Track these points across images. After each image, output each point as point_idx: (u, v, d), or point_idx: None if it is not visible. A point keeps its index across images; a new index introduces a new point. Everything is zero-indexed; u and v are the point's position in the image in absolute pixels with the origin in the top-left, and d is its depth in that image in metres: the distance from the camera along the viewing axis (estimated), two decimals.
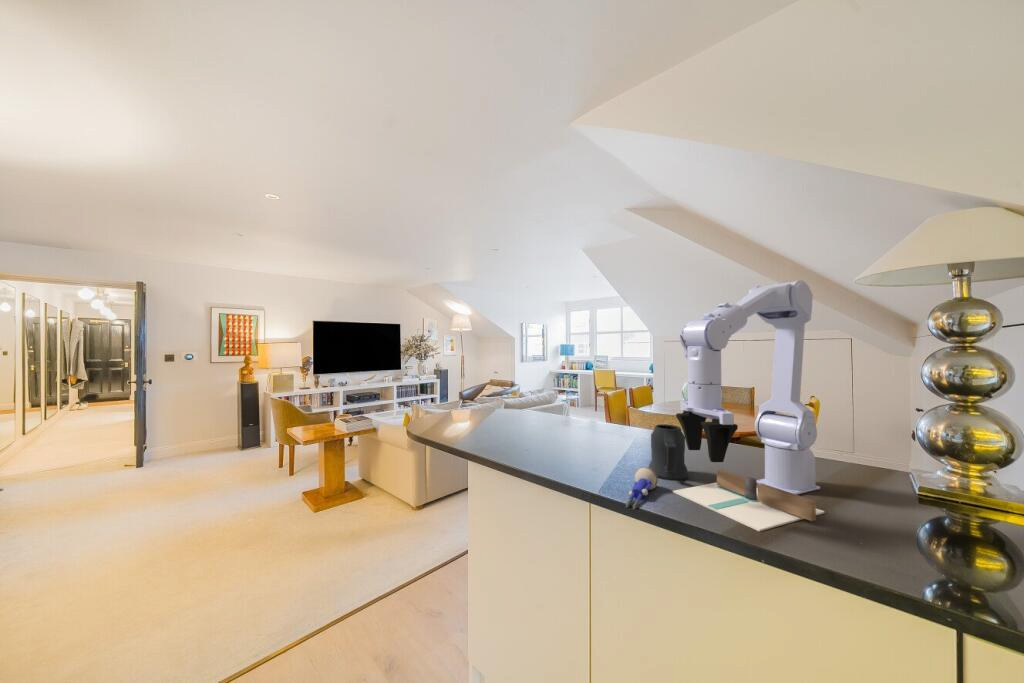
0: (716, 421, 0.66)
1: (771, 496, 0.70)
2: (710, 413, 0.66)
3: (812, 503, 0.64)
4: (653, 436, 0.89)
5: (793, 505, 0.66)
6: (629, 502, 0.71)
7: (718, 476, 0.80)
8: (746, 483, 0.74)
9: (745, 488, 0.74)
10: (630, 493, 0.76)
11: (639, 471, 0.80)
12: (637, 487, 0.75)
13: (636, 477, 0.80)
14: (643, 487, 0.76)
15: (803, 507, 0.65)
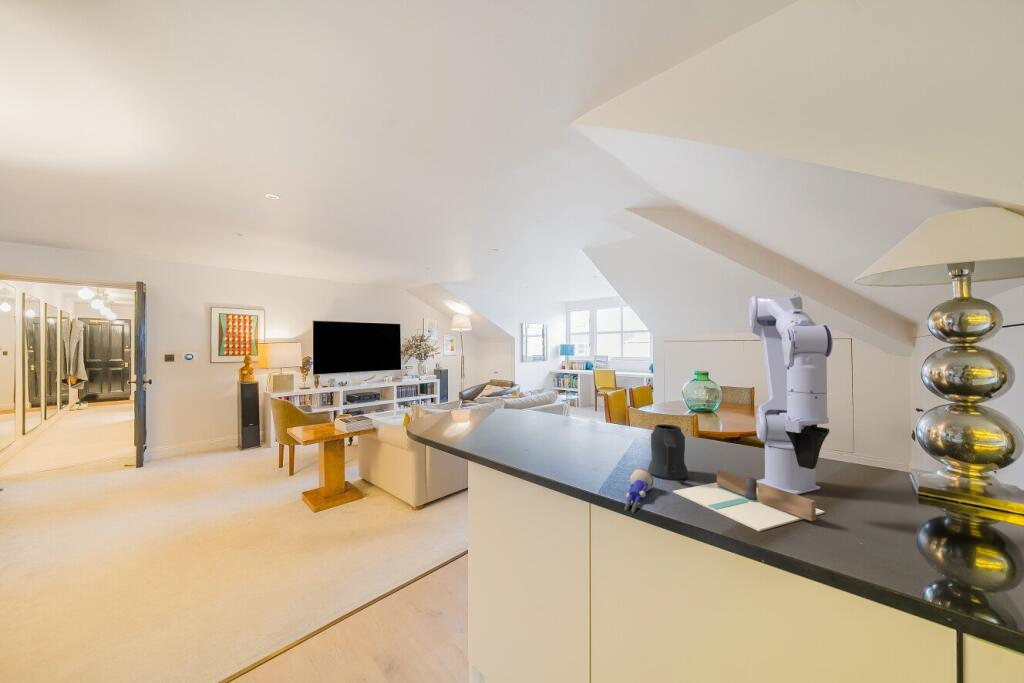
0: None
1: (771, 496, 0.70)
2: None
3: (812, 503, 0.64)
4: (653, 436, 0.89)
5: (793, 505, 0.66)
6: (628, 505, 0.70)
7: (718, 476, 0.80)
8: (746, 483, 0.74)
9: (745, 488, 0.74)
10: (627, 495, 0.74)
11: (635, 473, 0.79)
12: (634, 489, 0.74)
13: (632, 479, 0.79)
14: (640, 489, 0.75)
15: (803, 507, 0.65)
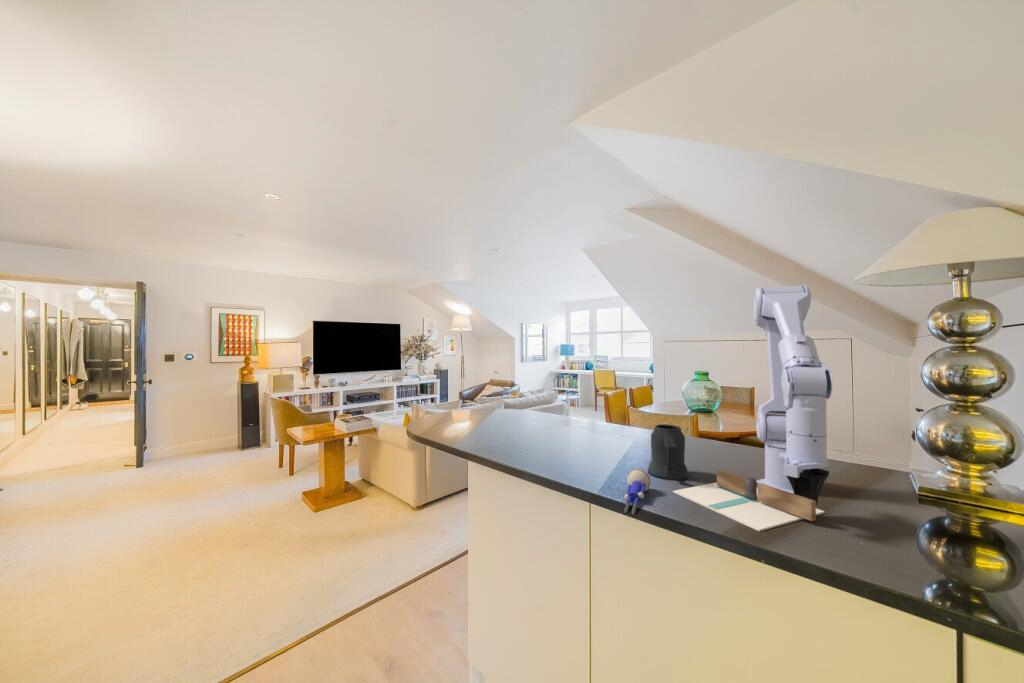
0: None
1: (771, 496, 0.70)
2: (785, 462, 0.66)
3: (812, 503, 0.64)
4: (653, 436, 0.89)
5: (793, 505, 0.66)
6: (627, 507, 0.69)
7: (718, 476, 0.80)
8: (746, 483, 0.74)
9: (745, 488, 0.74)
10: (626, 497, 0.74)
11: (632, 473, 0.78)
12: (633, 490, 0.73)
13: (629, 480, 0.78)
14: (638, 490, 0.74)
15: (803, 507, 0.65)
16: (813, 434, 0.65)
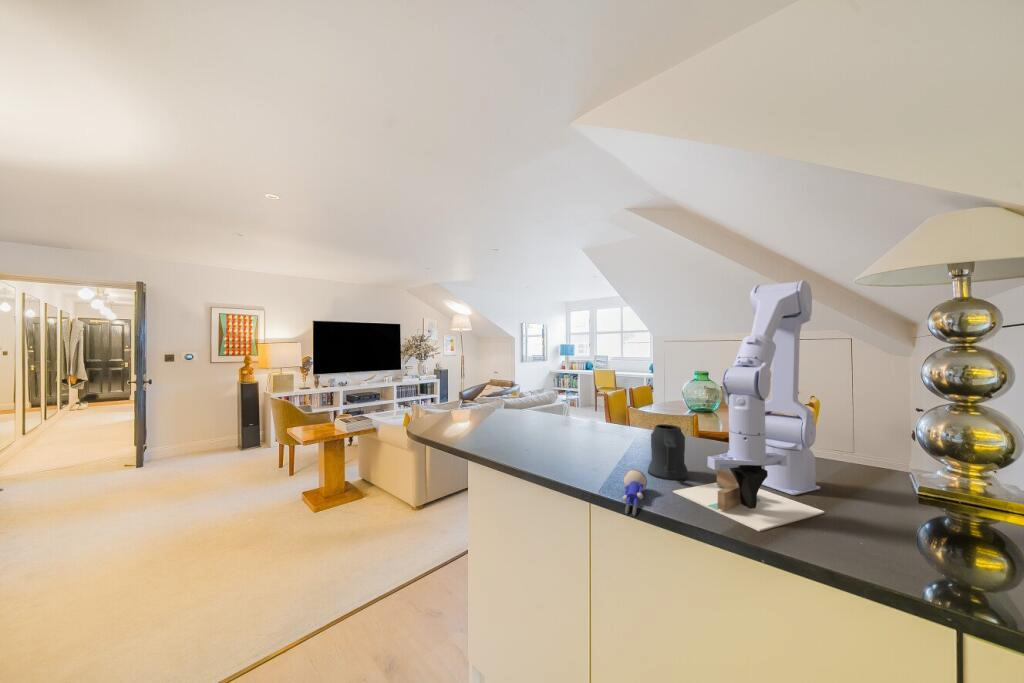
0: None
1: None
2: (718, 457, 0.70)
3: (719, 493, 0.68)
4: (653, 436, 0.89)
5: None
6: (628, 508, 0.69)
7: (718, 476, 0.80)
8: None
9: None
10: (624, 498, 0.73)
11: (629, 474, 0.78)
12: (632, 491, 0.73)
13: (626, 480, 0.78)
14: (637, 491, 0.74)
15: None
16: (742, 432, 0.67)
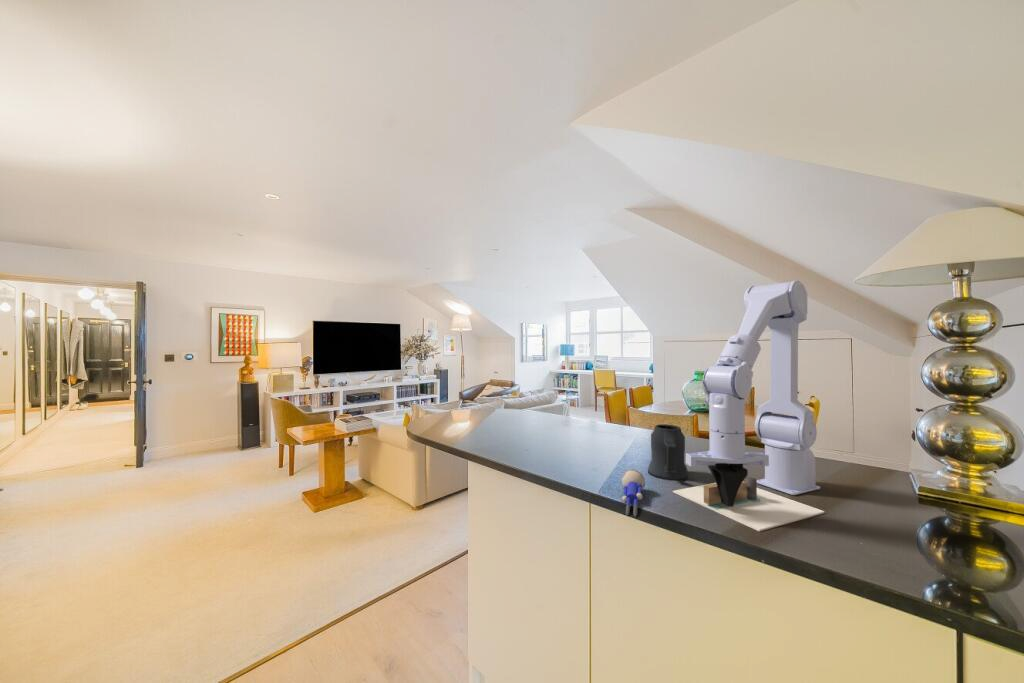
0: None
1: None
2: (697, 454, 0.71)
3: (704, 487, 0.71)
4: (653, 436, 0.89)
5: None
6: (628, 509, 0.68)
7: None
8: (746, 483, 0.74)
9: None
10: (624, 498, 0.73)
11: (627, 474, 0.78)
12: (631, 492, 0.72)
13: (624, 481, 0.78)
14: (636, 491, 0.73)
15: None
16: (720, 430, 0.68)
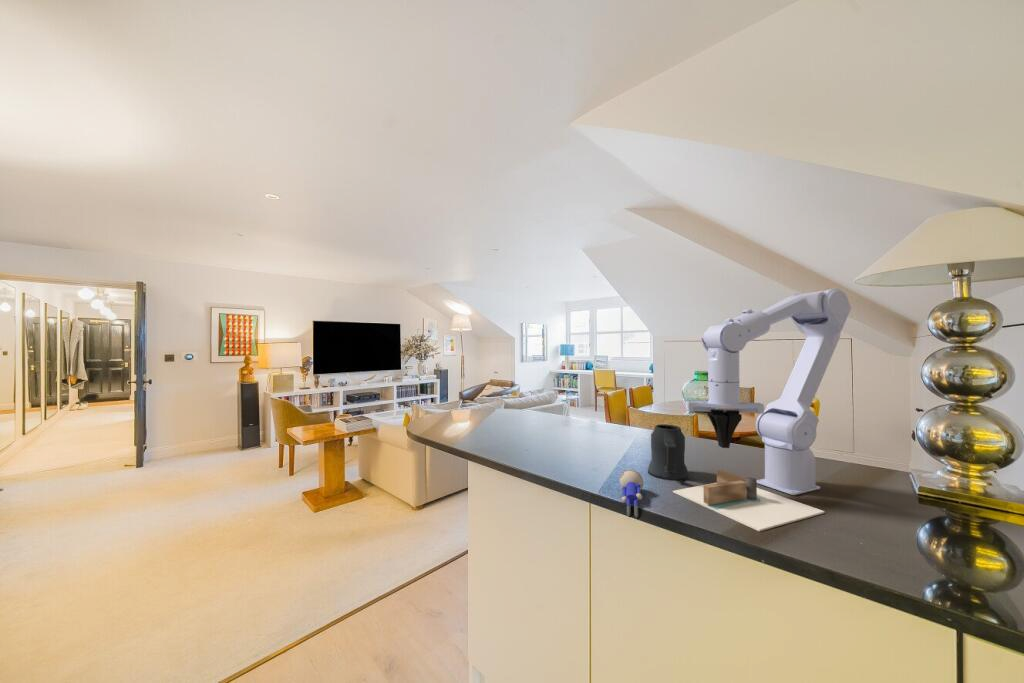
0: None
1: None
2: None
3: (704, 487, 0.71)
4: (653, 436, 0.89)
5: None
6: (629, 509, 0.68)
7: (718, 476, 0.80)
8: (746, 483, 0.74)
9: None
10: (623, 499, 0.72)
11: (625, 475, 0.78)
12: (631, 492, 0.72)
13: (623, 481, 0.77)
14: (635, 491, 0.73)
15: None
16: (713, 379, 0.78)
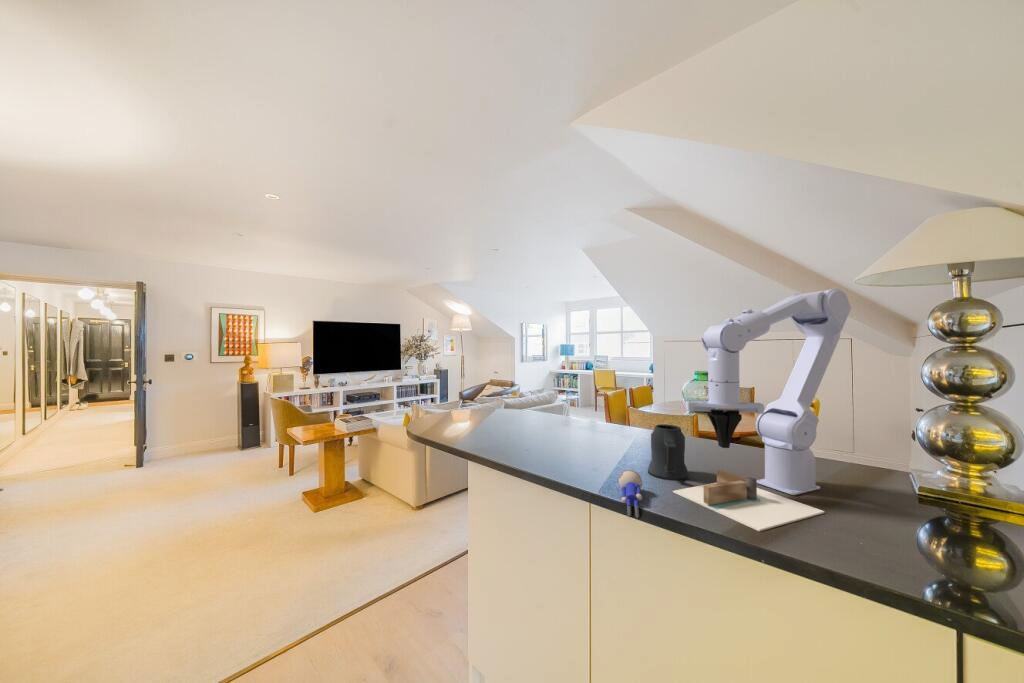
0: None
1: None
2: None
3: (704, 487, 0.71)
4: (653, 436, 0.89)
5: None
6: (630, 510, 0.68)
7: (718, 476, 0.80)
8: (746, 483, 0.74)
9: None
10: (623, 500, 0.72)
11: (625, 475, 0.77)
12: (631, 493, 0.72)
13: (622, 481, 0.77)
14: (635, 492, 0.73)
15: None
16: (713, 379, 0.78)
